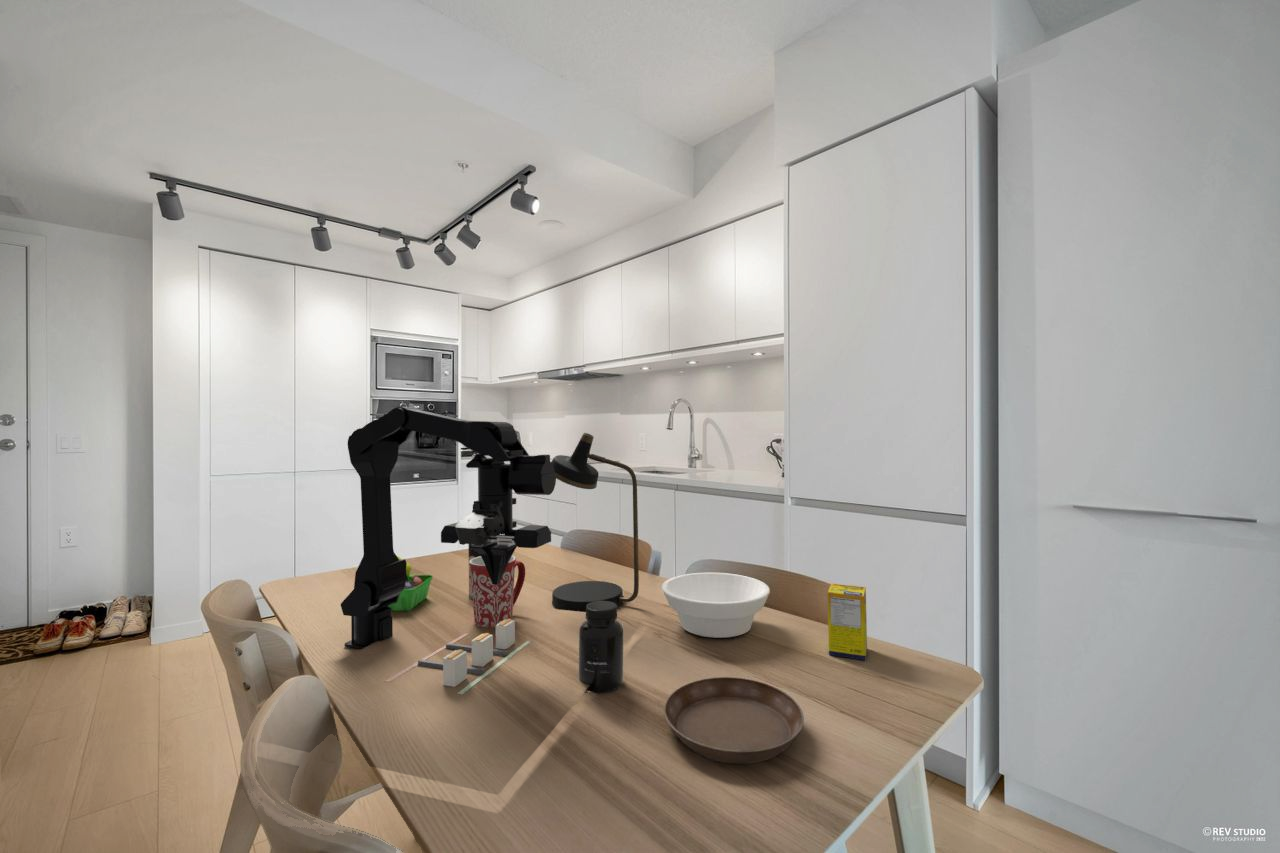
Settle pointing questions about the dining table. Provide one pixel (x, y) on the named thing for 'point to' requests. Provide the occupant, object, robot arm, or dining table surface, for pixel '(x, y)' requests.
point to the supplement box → (847, 621)
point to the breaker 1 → (455, 668)
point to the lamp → (586, 477)
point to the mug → (494, 592)
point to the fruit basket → (412, 591)
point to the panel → (470, 669)
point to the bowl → (715, 602)
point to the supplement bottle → (601, 648)
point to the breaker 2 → (505, 634)
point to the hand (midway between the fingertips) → (496, 584)
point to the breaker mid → (482, 649)
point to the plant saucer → (734, 719)
